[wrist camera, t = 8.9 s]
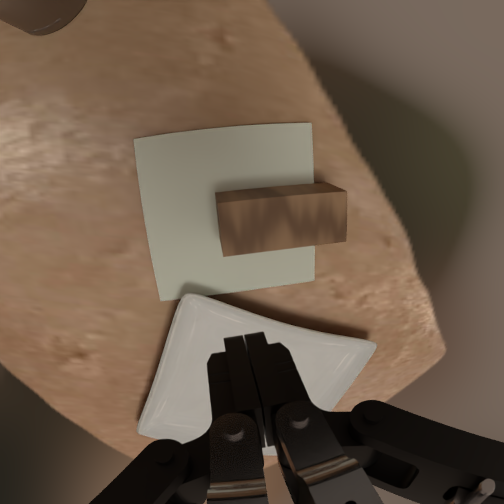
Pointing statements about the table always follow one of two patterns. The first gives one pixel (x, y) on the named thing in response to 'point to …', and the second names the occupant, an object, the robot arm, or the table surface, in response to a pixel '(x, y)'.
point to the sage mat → (204, 204)
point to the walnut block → (280, 217)
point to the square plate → (211, 341)
